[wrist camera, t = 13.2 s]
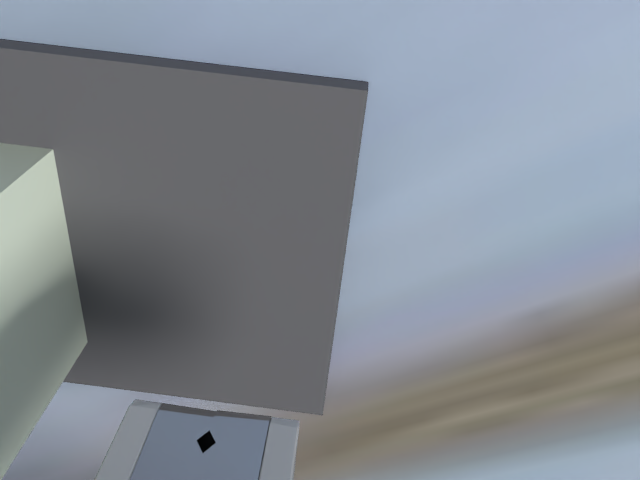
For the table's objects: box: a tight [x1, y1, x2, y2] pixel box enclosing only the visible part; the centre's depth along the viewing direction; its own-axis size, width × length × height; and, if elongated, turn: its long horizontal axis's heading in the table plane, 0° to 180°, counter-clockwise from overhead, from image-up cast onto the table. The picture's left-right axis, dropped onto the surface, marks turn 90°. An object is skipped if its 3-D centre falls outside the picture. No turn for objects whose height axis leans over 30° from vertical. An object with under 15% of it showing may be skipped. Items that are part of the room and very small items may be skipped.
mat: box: [0, 39, 368, 415], centre depth 15 cm, size 14×10×1 cm
